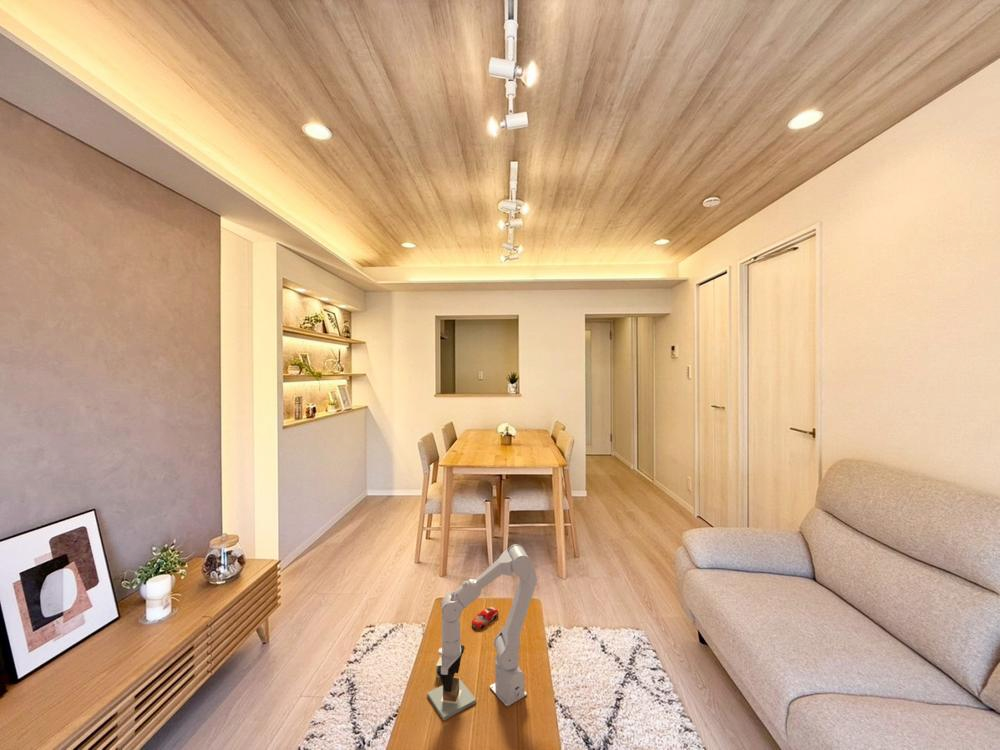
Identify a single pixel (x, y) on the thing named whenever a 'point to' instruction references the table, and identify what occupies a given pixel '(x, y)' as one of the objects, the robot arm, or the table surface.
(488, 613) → the race car
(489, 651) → the table surface
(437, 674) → the sage cube
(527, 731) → the table surface
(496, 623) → the table surface
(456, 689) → the walnut cube
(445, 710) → the baseplate
